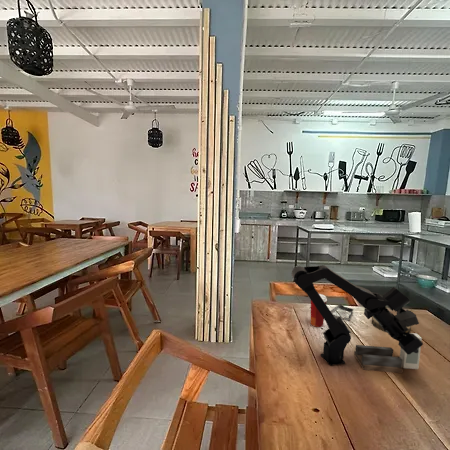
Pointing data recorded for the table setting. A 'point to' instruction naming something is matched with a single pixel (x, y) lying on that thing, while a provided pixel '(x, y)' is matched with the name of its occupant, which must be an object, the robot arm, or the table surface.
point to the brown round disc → (382, 328)
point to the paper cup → (317, 314)
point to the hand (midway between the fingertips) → (414, 349)
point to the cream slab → (410, 357)
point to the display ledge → (378, 358)
